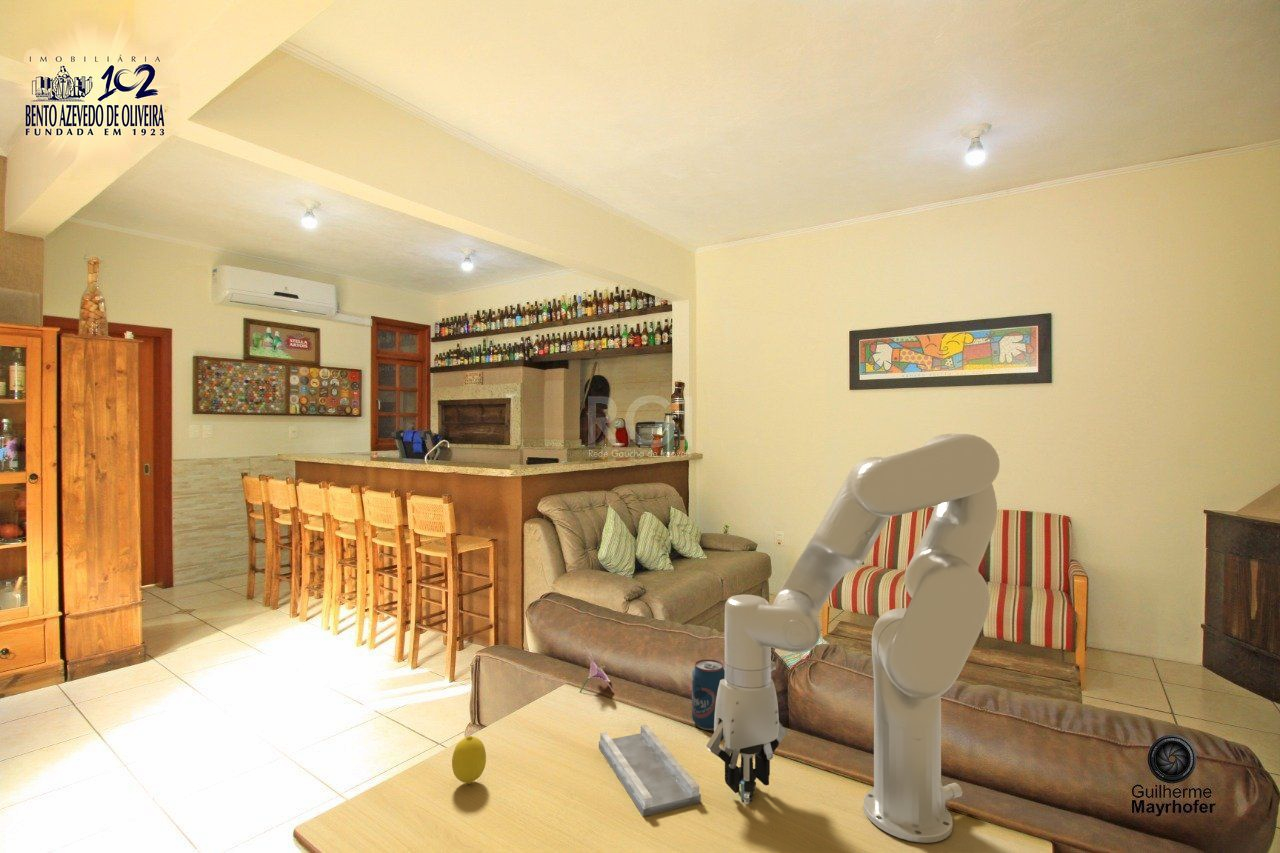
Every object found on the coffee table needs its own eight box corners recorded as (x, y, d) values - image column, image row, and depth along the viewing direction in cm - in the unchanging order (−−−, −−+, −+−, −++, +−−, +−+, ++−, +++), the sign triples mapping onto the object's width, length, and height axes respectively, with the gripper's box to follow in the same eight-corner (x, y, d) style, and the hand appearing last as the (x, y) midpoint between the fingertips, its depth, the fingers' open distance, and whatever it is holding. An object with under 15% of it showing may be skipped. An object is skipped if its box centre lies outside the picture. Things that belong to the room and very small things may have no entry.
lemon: (492, 783, 101) (492, 735, 102) (462, 797, 97) (463, 748, 98) (474, 770, 105) (474, 724, 105) (445, 784, 101) (445, 736, 101)
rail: (647, 738, 117) (647, 724, 117) (700, 802, 96) (700, 785, 97) (598, 747, 113) (598, 733, 113) (643, 817, 93) (643, 799, 93)
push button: (762, 809, 95) (762, 745, 95) (728, 805, 96) (728, 741, 96) (763, 785, 101) (763, 725, 101) (731, 781, 102) (731, 722, 103)
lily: (603, 711, 131) (623, 668, 133) (557, 684, 133) (577, 643, 136) (611, 704, 142) (630, 665, 144) (568, 680, 145) (587, 642, 147)
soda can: (686, 725, 122) (686, 666, 122) (701, 712, 128) (701, 655, 128) (717, 735, 118) (717, 673, 118) (731, 720, 124) (731, 662, 124)
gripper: (777, 658, 105) (777, 762, 105) (690, 672, 99) (690, 783, 99) (804, 674, 99) (804, 785, 98) (713, 690, 92) (712, 809, 92)
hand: (747, 783), depth 99 cm, fingers open, 4 cm apart
